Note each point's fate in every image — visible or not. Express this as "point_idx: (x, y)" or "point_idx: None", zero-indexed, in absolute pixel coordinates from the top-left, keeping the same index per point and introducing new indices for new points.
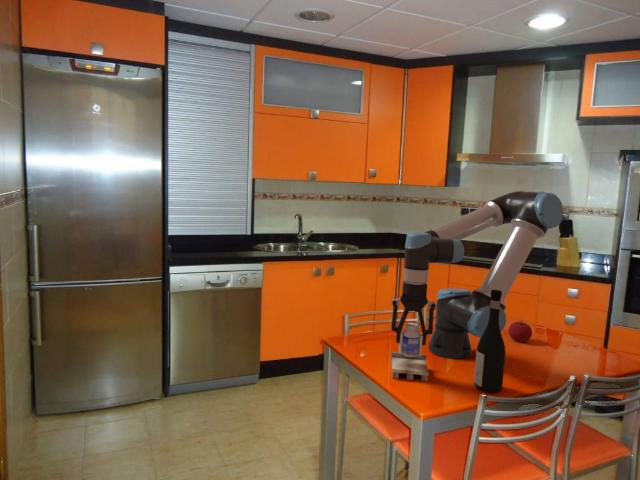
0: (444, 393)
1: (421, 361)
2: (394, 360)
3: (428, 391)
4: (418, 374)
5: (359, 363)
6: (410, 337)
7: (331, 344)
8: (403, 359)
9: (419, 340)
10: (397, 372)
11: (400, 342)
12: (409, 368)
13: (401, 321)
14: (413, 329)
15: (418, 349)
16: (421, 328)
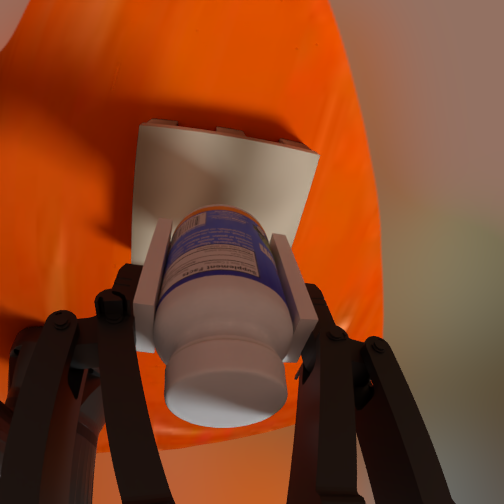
0: (112, 16)
1: None
2: None
3: (176, 22)
4: (191, 128)
5: (376, 270)
6: (247, 278)
7: None
8: None
9: (160, 289)
10: (292, 146)
11: (298, 277)
12: (230, 163)
13: (349, 412)
14: (224, 345)
15: (171, 246)
16: (137, 362)
